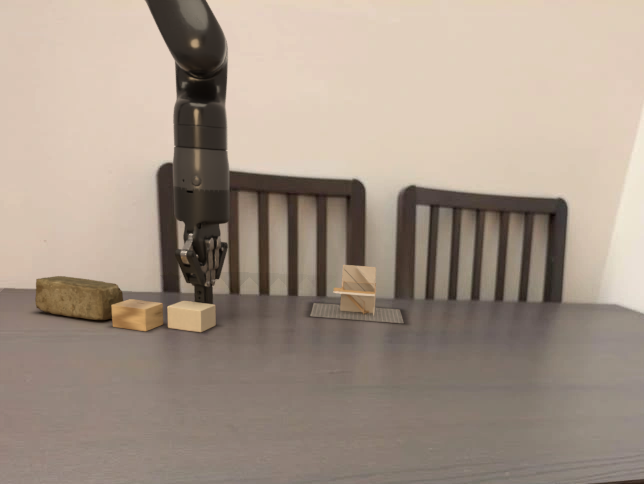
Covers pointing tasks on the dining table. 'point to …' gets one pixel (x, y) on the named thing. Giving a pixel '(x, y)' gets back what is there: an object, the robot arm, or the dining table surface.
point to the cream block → (191, 316)
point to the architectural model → (357, 298)
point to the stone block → (77, 297)
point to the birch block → (137, 315)
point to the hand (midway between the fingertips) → (203, 311)
